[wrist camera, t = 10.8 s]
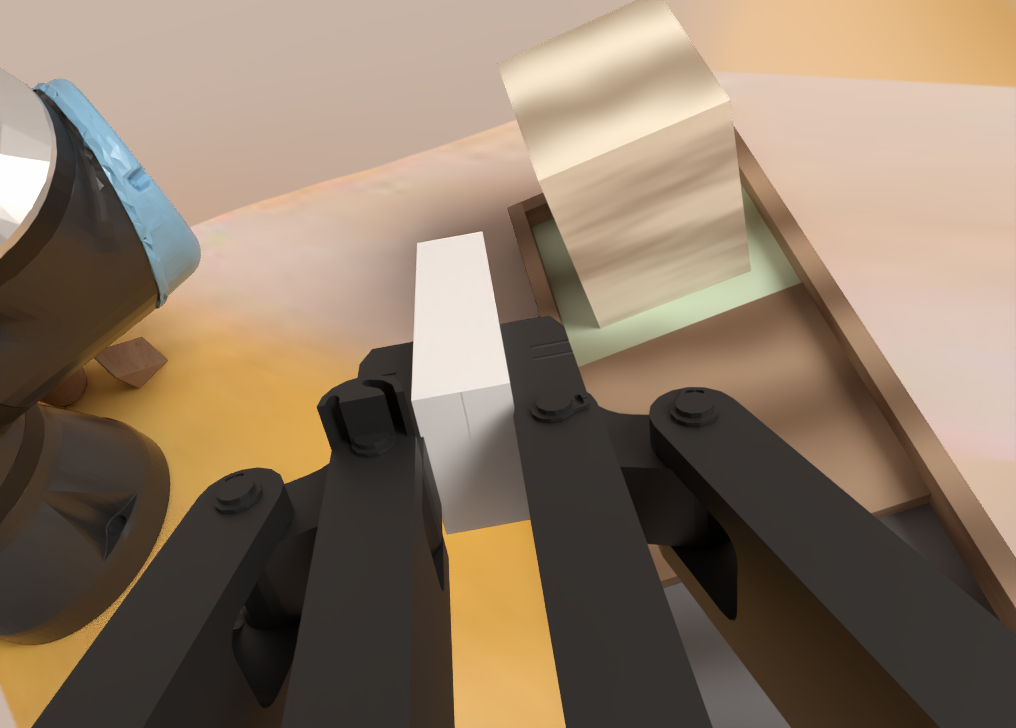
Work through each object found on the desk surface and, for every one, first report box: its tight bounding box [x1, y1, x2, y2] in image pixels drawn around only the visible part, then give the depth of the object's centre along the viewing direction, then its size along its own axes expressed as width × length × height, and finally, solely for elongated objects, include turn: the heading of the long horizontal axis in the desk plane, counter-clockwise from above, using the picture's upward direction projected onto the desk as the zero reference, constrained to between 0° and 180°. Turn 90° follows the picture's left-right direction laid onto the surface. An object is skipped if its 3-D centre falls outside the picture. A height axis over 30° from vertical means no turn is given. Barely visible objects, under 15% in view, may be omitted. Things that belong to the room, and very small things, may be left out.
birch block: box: [498, 0, 751, 328], centre depth 41 cm, size 10×9×12 cm
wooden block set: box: [39, 337, 168, 406], centre depth 54 cm, size 18×9×10 cm, turn 136°
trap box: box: [508, 127, 1016, 728], centre depth 36 cm, size 44×15×3 cm, turn 12°
